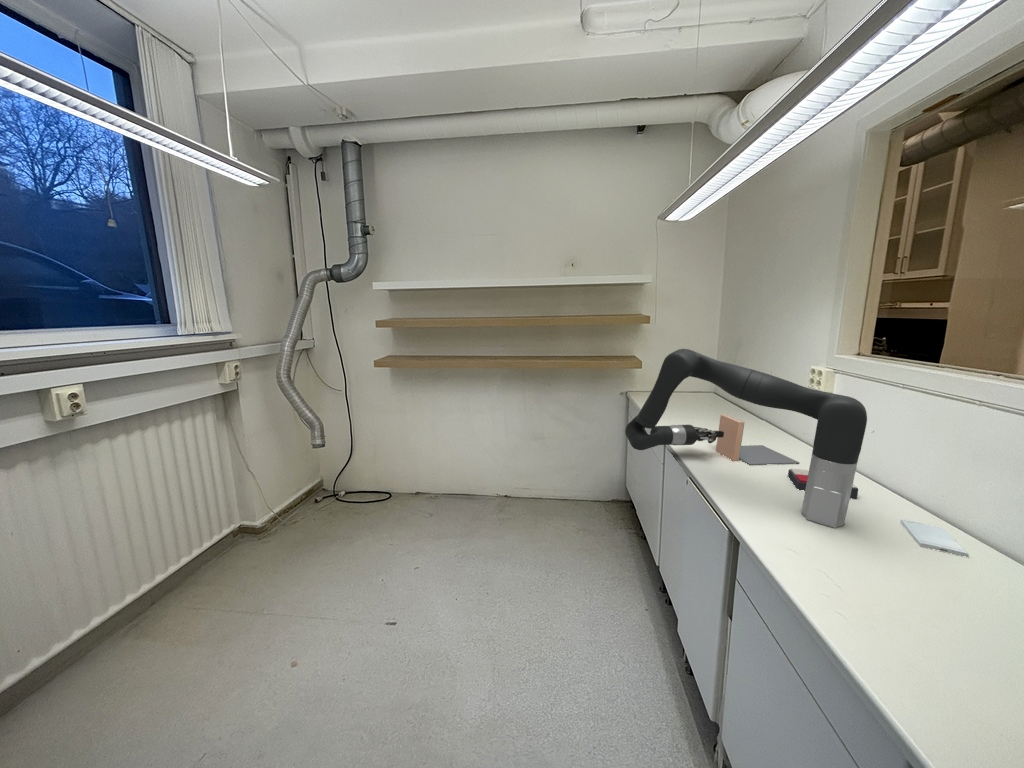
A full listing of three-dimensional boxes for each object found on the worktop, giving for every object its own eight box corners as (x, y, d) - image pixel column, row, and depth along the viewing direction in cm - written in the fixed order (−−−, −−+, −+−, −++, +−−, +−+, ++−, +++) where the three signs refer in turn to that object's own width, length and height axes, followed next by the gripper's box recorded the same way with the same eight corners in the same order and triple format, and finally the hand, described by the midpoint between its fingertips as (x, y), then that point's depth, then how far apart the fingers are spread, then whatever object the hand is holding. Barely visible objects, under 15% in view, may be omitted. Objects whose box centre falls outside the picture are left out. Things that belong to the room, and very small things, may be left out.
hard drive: (900, 518, 103) (920, 542, 92) (944, 527, 99) (969, 553, 88) (899, 524, 103) (919, 548, 93) (942, 533, 99) (967, 559, 89)
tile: (733, 461, 142) (738, 422, 139) (715, 451, 152) (720, 414, 149) (739, 461, 143) (745, 422, 140) (721, 451, 152) (726, 414, 150)
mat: (749, 465, 139) (749, 464, 139) (717, 447, 156) (717, 446, 156) (799, 463, 142) (799, 462, 142) (762, 446, 159) (762, 445, 159)
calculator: (788, 466, 130) (843, 472, 125) (787, 478, 131) (842, 484, 125) (798, 480, 120) (859, 486, 115) (797, 492, 121) (857, 500, 115)
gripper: (691, 430, 136) (736, 429, 138) (671, 420, 149) (712, 419, 151) (688, 451, 137) (733, 449, 140) (669, 438, 150) (710, 437, 152)
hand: (722, 433), depth 145 cm, fingers closed
